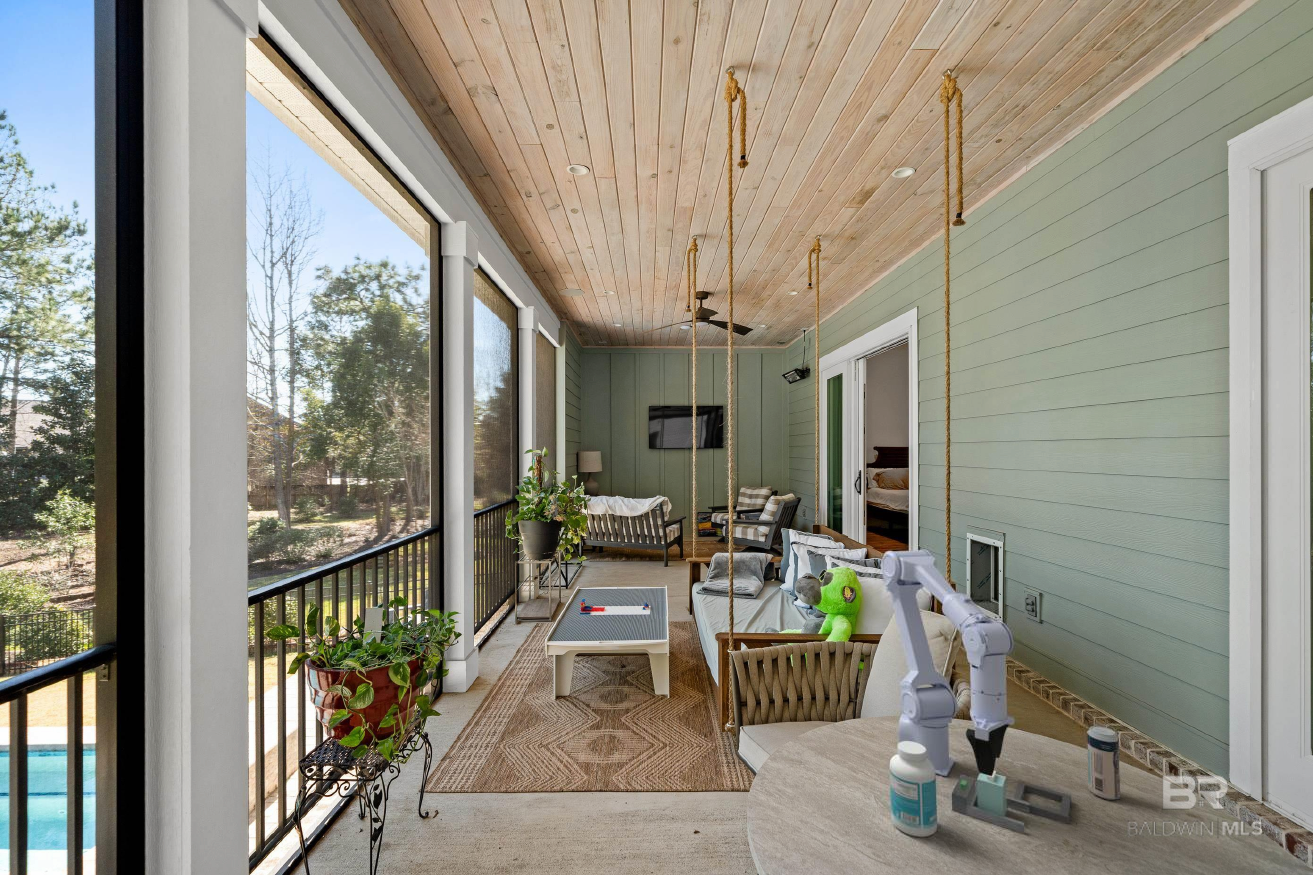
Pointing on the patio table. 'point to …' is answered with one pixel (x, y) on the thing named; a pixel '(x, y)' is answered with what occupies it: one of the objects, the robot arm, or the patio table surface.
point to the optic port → (966, 804)
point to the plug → (992, 793)
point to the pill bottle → (913, 790)
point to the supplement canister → (1103, 762)
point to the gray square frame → (1048, 793)
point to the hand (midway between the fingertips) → (989, 764)
